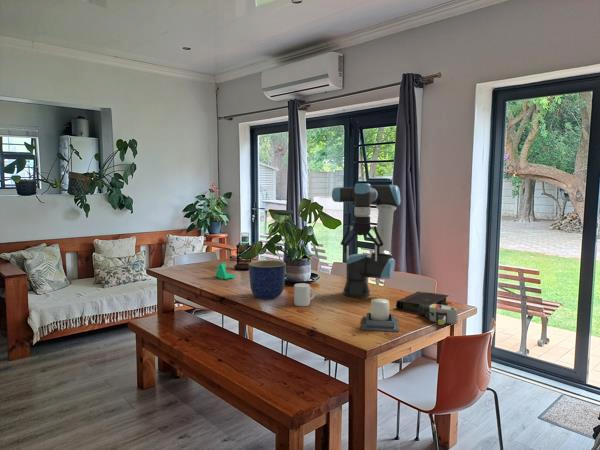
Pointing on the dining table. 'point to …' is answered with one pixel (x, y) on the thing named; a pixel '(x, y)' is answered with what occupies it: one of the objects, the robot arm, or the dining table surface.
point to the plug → (379, 310)
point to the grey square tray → (380, 324)
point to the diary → (420, 301)
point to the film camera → (439, 313)
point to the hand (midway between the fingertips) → (361, 260)
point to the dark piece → (241, 265)
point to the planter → (267, 278)
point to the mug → (302, 294)
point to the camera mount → (223, 272)
